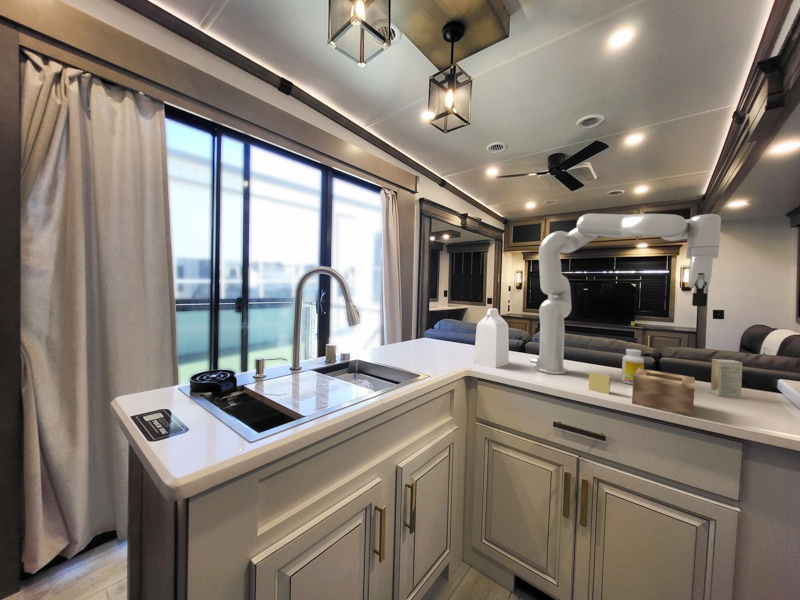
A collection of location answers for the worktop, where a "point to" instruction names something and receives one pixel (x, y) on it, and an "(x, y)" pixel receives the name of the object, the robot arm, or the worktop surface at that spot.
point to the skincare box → (726, 378)
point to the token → (599, 382)
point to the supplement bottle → (631, 365)
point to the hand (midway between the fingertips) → (698, 305)
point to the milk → (492, 341)
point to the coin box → (664, 391)
